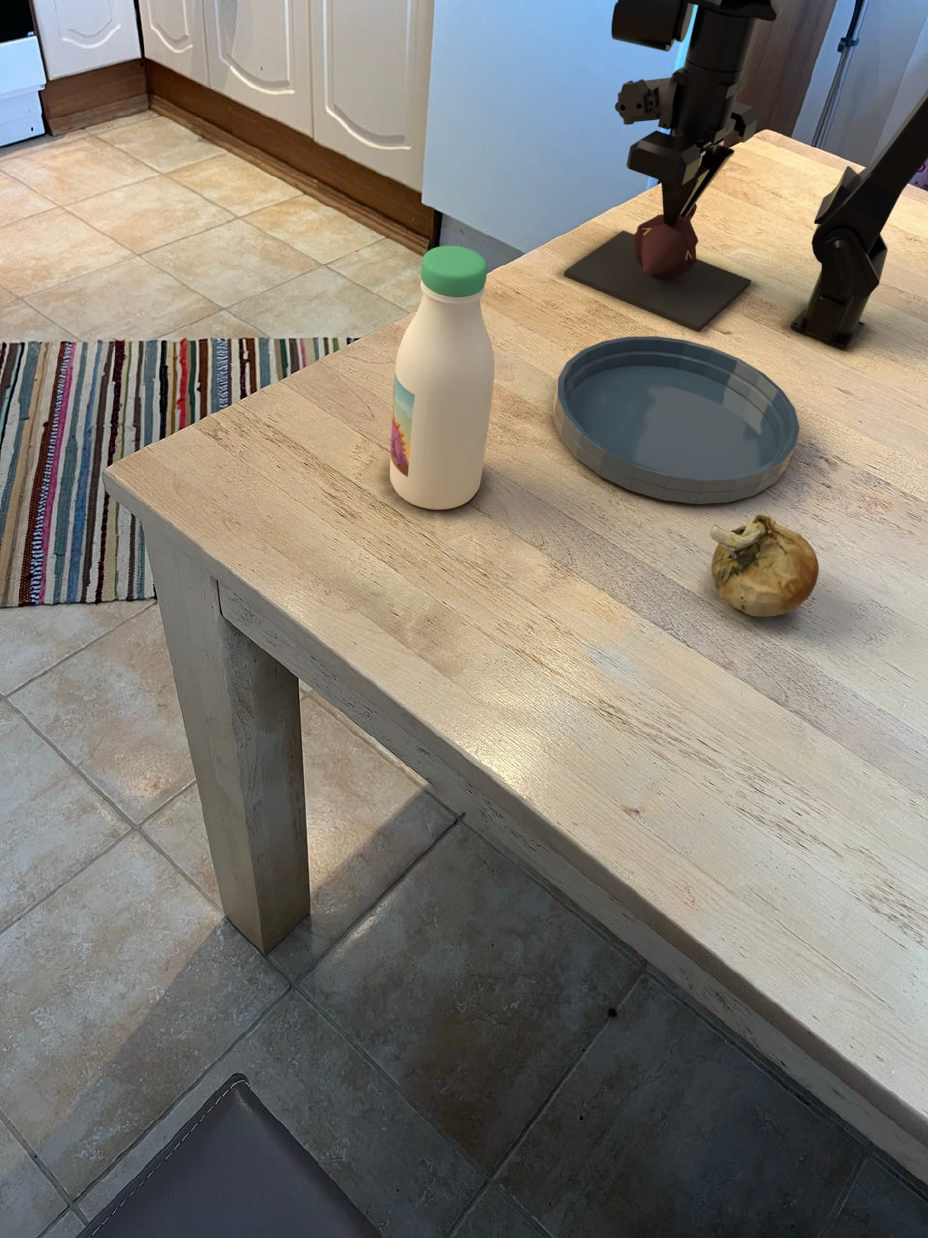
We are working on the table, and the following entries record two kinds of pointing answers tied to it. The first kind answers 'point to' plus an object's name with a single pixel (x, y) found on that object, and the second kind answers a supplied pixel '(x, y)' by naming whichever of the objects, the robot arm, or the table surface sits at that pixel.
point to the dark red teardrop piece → (666, 246)
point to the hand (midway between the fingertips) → (674, 220)
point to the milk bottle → (443, 385)
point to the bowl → (674, 419)
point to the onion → (763, 567)
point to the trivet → (658, 284)
